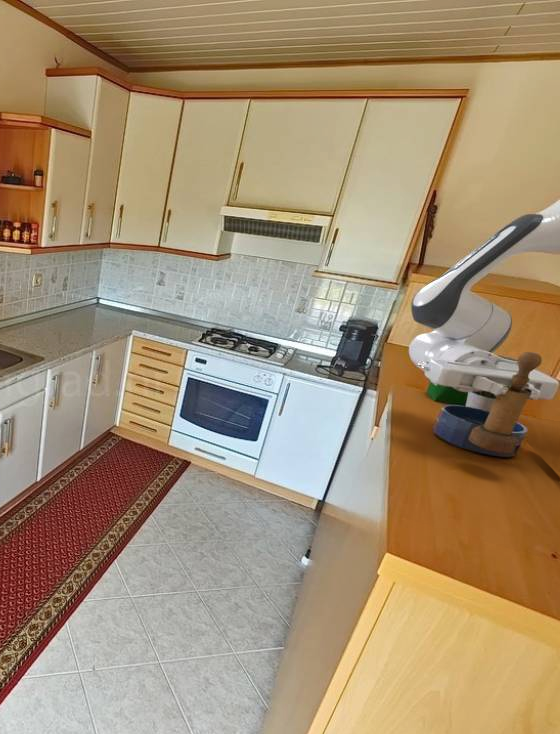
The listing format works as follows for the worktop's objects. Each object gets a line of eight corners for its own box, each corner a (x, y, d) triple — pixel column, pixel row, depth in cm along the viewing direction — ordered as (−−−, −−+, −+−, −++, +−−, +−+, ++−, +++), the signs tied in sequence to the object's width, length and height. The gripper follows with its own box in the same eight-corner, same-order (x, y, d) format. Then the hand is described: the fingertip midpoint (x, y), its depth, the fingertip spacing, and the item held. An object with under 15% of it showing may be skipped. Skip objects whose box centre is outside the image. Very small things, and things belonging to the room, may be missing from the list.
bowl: (503, 440, 109) (514, 416, 107) (525, 466, 97) (538, 439, 95) (426, 423, 115) (436, 399, 112) (438, 445, 103) (449, 419, 101)
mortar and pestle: (463, 433, 95) (502, 345, 88) (505, 443, 92) (548, 352, 86) (474, 447, 89) (516, 353, 83) (519, 457, 86) (566, 361, 80)
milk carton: (421, 391, 138) (447, 322, 131) (458, 398, 135) (488, 328, 129) (431, 401, 130) (460, 329, 123) (472, 409, 128) (504, 335, 121)
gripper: (418, 347, 99) (462, 368, 86) (528, 361, 96) (590, 384, 84) (407, 376, 101) (448, 401, 88) (515, 390, 99) (573, 417, 86)
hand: (518, 393), depth 86 cm, fingers closed on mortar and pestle, 4 cm apart
